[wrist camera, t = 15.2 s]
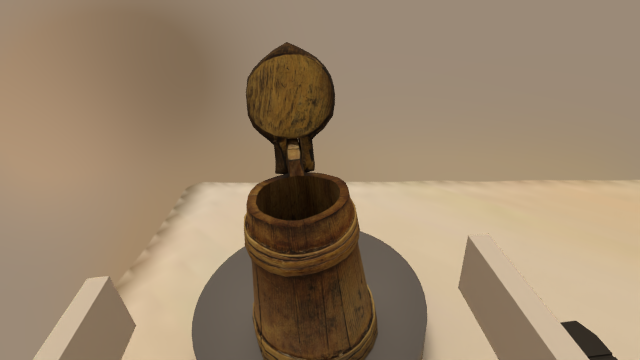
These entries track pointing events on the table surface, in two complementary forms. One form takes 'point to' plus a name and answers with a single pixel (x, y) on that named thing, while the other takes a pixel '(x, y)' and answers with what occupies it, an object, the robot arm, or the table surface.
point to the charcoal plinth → (238, 297)
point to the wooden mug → (303, 224)
